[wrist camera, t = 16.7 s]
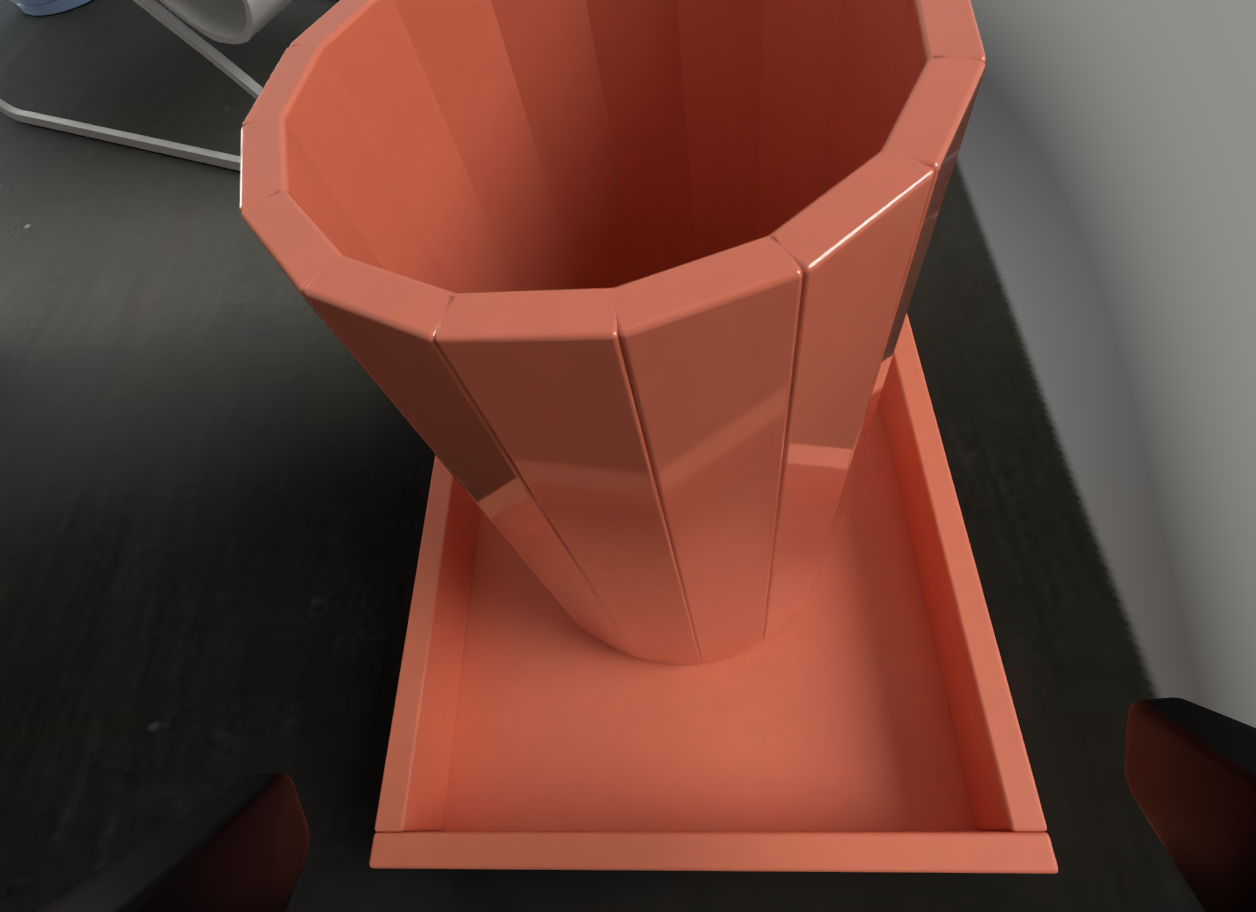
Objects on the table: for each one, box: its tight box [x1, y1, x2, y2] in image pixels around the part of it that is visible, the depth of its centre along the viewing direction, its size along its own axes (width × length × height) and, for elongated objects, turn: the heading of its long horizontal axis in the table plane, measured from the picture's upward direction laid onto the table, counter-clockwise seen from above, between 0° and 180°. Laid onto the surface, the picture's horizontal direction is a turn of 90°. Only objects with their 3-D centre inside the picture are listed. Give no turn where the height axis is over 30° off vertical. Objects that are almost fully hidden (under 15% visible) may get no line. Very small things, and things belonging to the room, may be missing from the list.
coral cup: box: [239, 0, 986, 665], centre depth 12 cm, size 7×7×12 cm
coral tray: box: [369, 313, 1058, 874], centre depth 16 cm, size 15×12×2 cm
